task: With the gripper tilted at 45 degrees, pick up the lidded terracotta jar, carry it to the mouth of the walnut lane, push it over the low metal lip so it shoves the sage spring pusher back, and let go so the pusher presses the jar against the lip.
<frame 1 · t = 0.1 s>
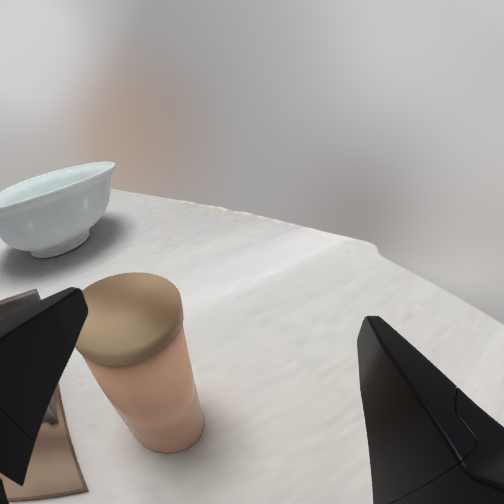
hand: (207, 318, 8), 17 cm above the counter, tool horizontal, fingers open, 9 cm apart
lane: (23, 427, 14), on the counter
jar: (166, 421, 19), on the counter
bowl: (59, 243, 50), on the counter
when the fingers open (9 cm above the counter, at t = 10.1 s): jar moves 2 cm, resting on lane, pusher.
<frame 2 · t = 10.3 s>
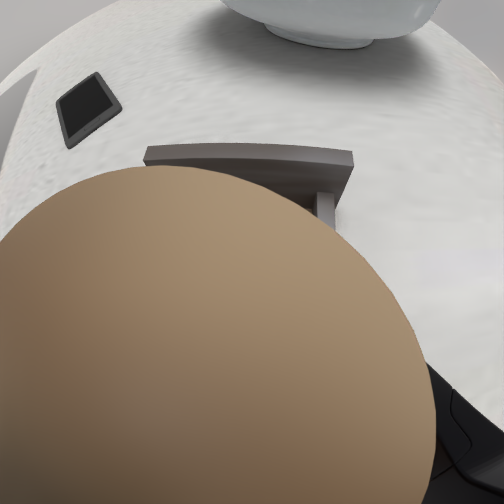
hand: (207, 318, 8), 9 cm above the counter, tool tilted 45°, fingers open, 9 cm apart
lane: (231, 425, 14), on the counter
jar: (233, 391, 14), point 2 cm above the counter, tilted 7°, touching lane, pusher
cell phone: (85, 107, 25), on the counter
bowl: (318, 27, 28), on the counter
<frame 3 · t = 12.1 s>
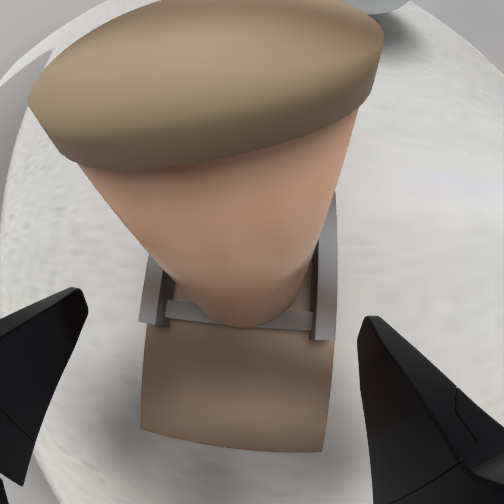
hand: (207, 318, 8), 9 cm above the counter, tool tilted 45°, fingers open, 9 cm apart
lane: (240, 318, 16), on the counter
jar: (244, 269, 15), point 2 cm above the counter, tilted 7°, touching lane, pusher
bowl: (314, 9, 29), on the counter
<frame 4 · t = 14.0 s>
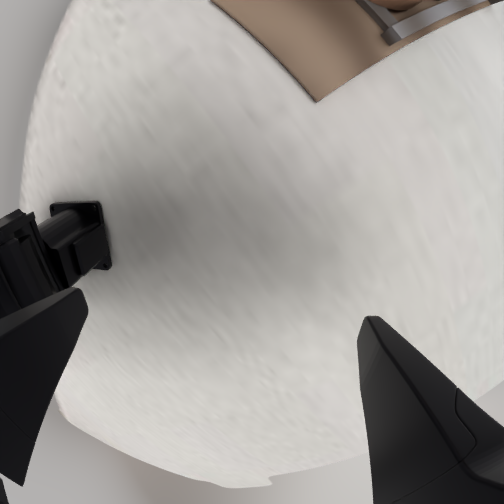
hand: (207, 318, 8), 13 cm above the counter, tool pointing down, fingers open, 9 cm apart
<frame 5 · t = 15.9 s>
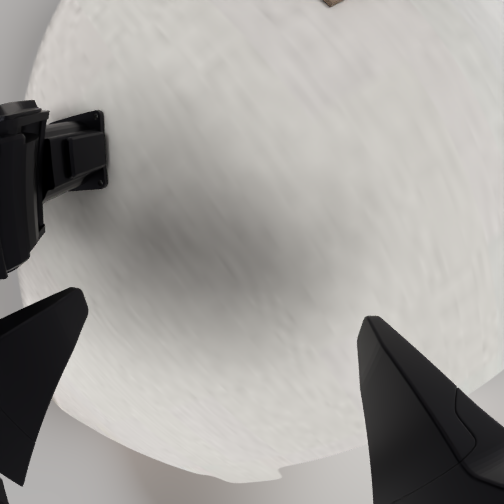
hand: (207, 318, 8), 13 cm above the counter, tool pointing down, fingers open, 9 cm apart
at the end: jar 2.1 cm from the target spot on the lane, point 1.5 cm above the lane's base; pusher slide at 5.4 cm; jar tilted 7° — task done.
